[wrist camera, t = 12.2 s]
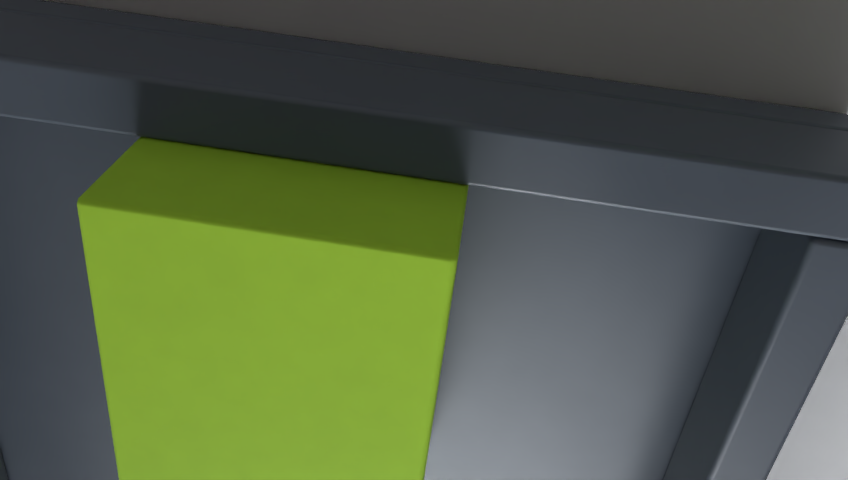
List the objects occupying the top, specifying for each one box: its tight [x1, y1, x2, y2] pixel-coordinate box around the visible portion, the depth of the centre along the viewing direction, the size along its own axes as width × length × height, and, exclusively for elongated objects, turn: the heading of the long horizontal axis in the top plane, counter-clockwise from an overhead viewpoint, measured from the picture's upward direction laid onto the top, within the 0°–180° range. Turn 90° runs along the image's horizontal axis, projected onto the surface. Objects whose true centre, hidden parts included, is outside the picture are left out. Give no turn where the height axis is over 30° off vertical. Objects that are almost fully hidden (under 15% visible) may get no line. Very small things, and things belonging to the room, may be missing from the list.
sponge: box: [77, 137, 469, 480], centre depth 11 cm, size 6×4×3 cm, turn 174°
